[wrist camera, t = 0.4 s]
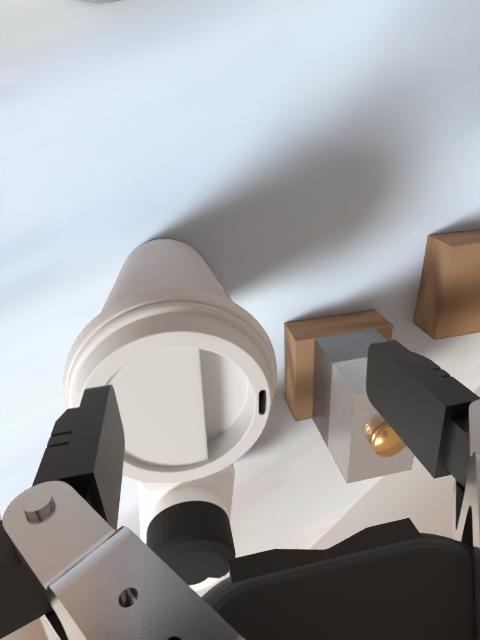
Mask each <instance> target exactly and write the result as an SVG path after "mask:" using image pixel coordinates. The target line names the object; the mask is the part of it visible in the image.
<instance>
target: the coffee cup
mask: <svg viewBox="0 0 480 640" xmlns="http://www.w3.org/2000/svg"><path fill="white" fill-rule="evenodd" d="M63 381H64V393H65V400H66V405H67V408H68V409H70V408H76V407H80V403H81V400H82V397H83V393H84V390H85V389H87V388H93V387H99V386H105V385H112V386H113V388H114V391H115V395H116V399H117V403H118V408H119V412H120V416H121V421H122V425H123V430H124V437H125V452H124V462H123V472H122V475H124V476H126V477H129V478H132V479H136V480H140V481H145V482H152V483H178V482H185V481H191V480H195V479H199V478H202V477H205V476H208V475H211V474H213V473H216V472H218V471H220V470H222V469H224V468H226V467H227V466H229V465H231V464H232V463H234V462H235V461H236V460H238V459H239V458H240V457H241V456H243V455H244V454H245V453H246V452H247V451H248V450H249V449H250V448H251V447H252V446H253V444H254V443H255V442H256V441H257V439H258V438H259V436H260V435H261V433H262V431H263V429H264V427H265V425H266V422H267V420H268V416H269V412H270V409H271V406H272V403H273V400H274V396H275V391H276V384H277V366H276V358H275V353H274V349H273V346H272V344H271V341H270V339H269V337H268V335H267V334H266V332H265V330H264V329H263V328H262V326H261V325H260V324H259V322H258V321H257V320H256V319H255V318H254V317H253V316H252V315H251V314H250V313H248V312H247V311H246V310H245V309H243V308H242V307H240V306H239V305H237V304H235V303H234V302H232V300H231V299H230V297H229V296H228V294H227V293H226V291H225V290H224V288H223V287H222V285H221V284H220V282H219V281H218V280H217V278H216V277H215V275H214V274H213V272H212V271H211V269H210V268H209V266H208V265H207V263H206V262H205V260H204V259H203V257H202V256H201V255H200V254H199V253H198V252H197V251H196V250H195V249H194V248H193V247H191V246H190V245H188V244H186V243H184V242H181V241H178V240H174V239H156V240H152V241H149V242H146V243H144V244H142V245H140V246H139V247H137V248H136V249H135V250H134V251H133V252H132V253H131V254H130V255H129V256H128V257H127V259H126V261H125V262H124V265H123V267H122V269H121V271H120V273H119V275H118V277H117V280H116V282H115V284H114V286H113V288H112V290H111V292H110V295H109V297H108V299H107V301H106V303H105V305H104V307H103V309H102V312H101V313H100V314H99V315H98V316H96V317H95V318H94V319H93V320H92V321H91V322H90V323H89V324H88V325H87V326H86V327H85V328H84V329H83V331H82V332H81V333H80V334H79V336H78V337H77V339H76V340H75V342H74V344H73V346H72V348H71V350H70V352H69V354H68V357H67V360H66V364H65V369H64V380H63Z"/></svg>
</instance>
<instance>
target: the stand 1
mask: <svg viewBox="0 0 480 640" xmlns="http://www.w3.org/2000/svg"><path fill="white" fill-rule="evenodd" d="M392 328H393V326H392V325H391V324H390V323H389V322H388V321H387V320H386V319H384V318H383V317H382V316H381V315H380V314H379V313H378V312H377V311H375V310H369V311H362V312H355V313H349V314H342V315H336V316H329V317H322V318H316V319H309V320H303V321H296V322H289V323H284V332H285V400H286V402H287V404H288V406H289V408H290V411H291V413H292V415H293V417H294V419H295V421H299V420H305V419H310V418H312V407H313V373H314V339H315V338H319V337H326V336H332V335H338V334H345V333H351V332H357V331H364V330H370V329H376V330H377V331H378V332H379V333H380V334H381V335H382V336H383V337H384V338H385V339H386V340H387V341H390V340H391V335H392Z"/></svg>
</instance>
